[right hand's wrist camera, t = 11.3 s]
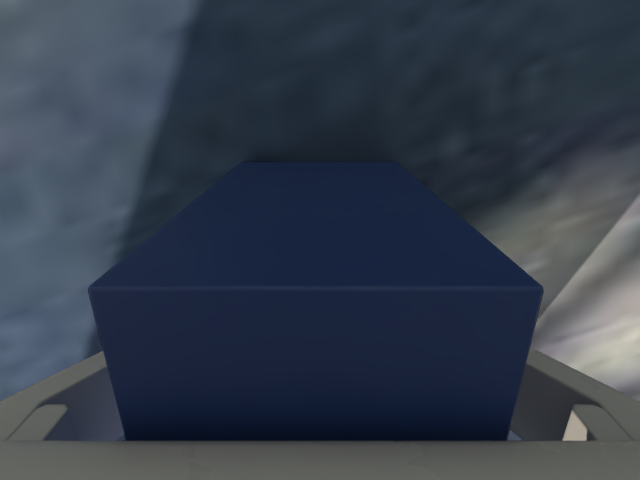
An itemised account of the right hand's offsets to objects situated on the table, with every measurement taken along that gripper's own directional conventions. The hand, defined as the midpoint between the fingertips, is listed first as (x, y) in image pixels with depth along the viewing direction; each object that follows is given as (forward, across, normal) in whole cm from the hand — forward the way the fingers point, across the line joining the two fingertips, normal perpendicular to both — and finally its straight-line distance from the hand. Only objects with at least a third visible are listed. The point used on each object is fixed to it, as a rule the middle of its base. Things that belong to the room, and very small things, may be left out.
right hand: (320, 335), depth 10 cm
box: (+6, 0, -7) cm, 9 cm away
